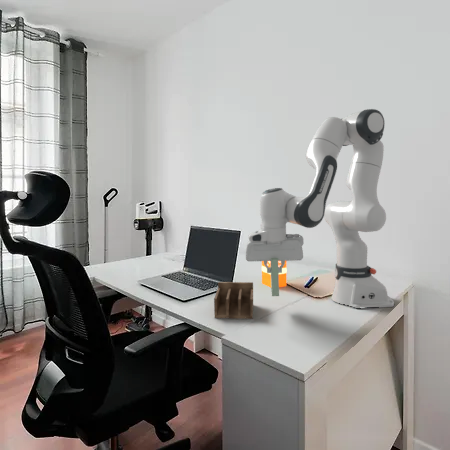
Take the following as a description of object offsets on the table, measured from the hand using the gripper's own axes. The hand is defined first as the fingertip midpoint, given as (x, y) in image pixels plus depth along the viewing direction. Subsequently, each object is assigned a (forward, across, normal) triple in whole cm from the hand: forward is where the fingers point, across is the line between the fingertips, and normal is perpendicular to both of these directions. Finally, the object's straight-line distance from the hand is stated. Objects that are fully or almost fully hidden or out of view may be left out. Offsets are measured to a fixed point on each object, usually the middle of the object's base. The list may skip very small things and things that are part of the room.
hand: (274, 272), depth 118 cm
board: (+7, 0, 0) cm, 7 cm away
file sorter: (+14, +15, 0) cm, 21 cm away
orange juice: (+15, -1, -32) cm, 36 cm away
